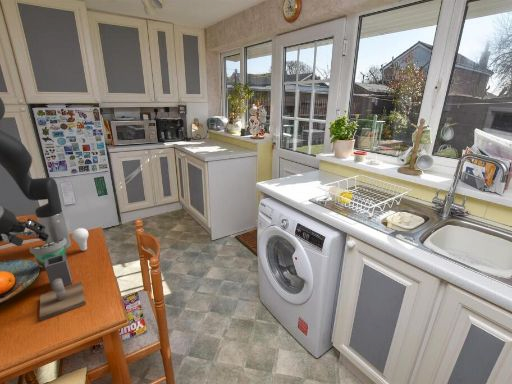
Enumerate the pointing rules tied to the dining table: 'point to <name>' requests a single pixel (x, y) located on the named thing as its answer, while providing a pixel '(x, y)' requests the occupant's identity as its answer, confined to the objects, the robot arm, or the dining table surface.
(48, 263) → the sleeve
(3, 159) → the robot arm
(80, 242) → the lightbulb
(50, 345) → the dining table surface
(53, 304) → the post stand
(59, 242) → the food container
